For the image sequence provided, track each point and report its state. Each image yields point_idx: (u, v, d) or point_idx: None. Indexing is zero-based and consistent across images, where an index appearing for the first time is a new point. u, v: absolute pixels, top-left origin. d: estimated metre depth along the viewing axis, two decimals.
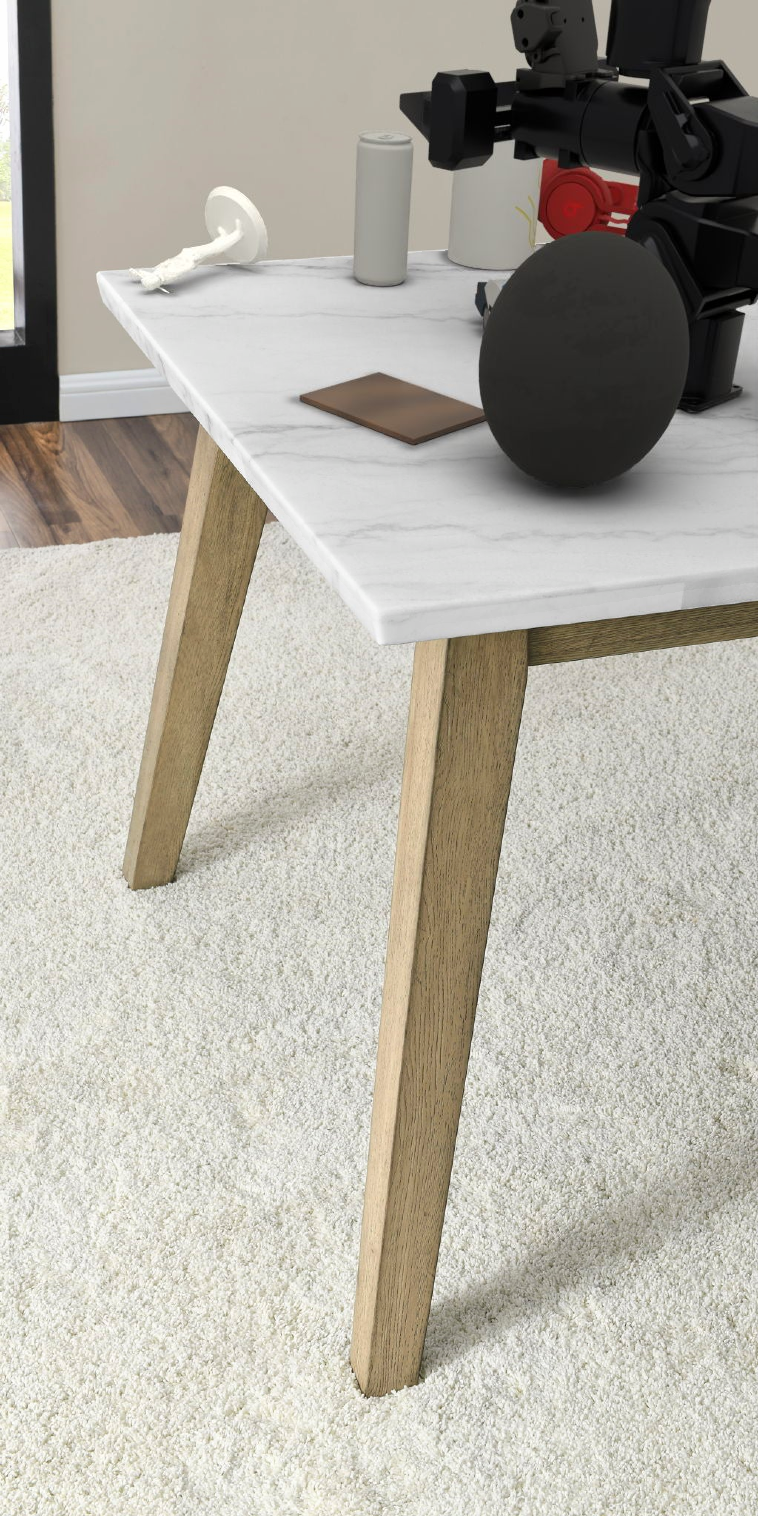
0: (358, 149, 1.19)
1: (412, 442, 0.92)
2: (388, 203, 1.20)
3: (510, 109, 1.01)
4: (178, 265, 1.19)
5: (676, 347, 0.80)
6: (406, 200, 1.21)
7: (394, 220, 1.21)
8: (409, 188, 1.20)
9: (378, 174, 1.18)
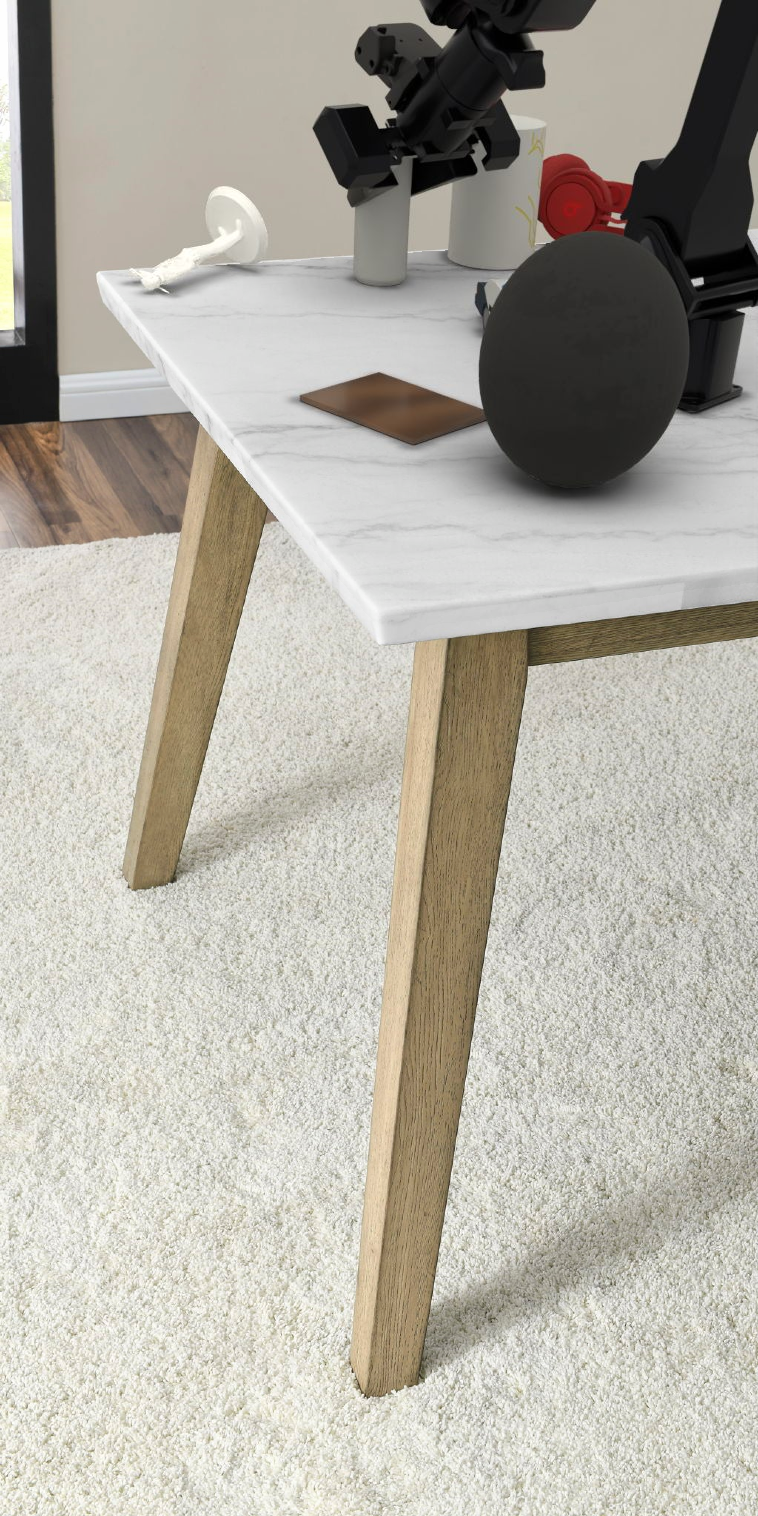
0: None
1: (412, 442, 0.92)
2: (388, 203, 1.20)
3: (396, 127, 1.13)
4: (178, 265, 1.19)
5: (676, 347, 0.80)
6: (406, 200, 1.21)
7: (394, 220, 1.21)
8: (409, 188, 1.20)
9: None
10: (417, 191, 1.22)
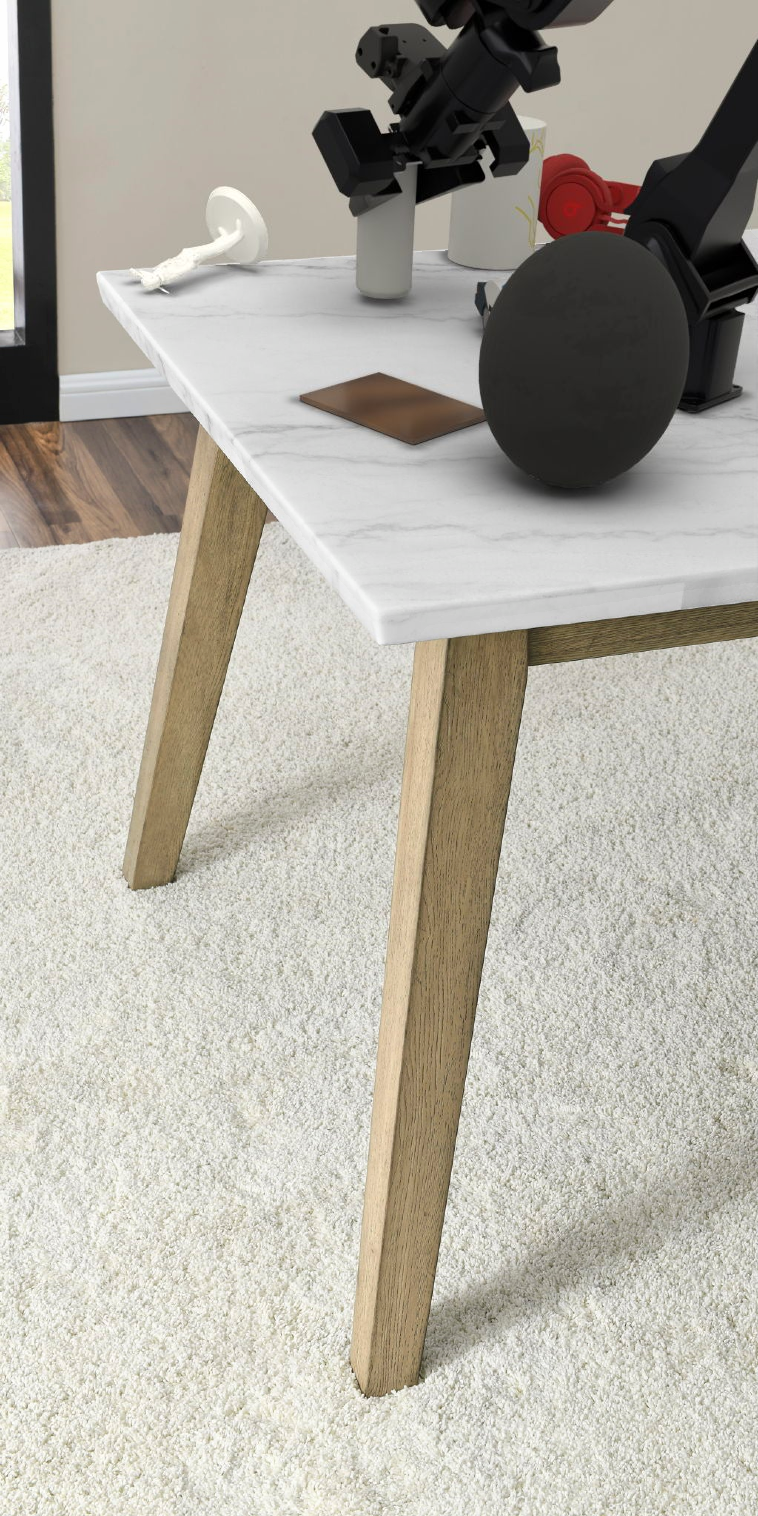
0: None
1: (412, 442, 0.92)
2: (391, 212, 1.14)
3: (399, 132, 1.08)
4: (178, 265, 1.19)
5: (676, 347, 0.80)
6: (411, 208, 1.15)
7: (398, 229, 1.15)
8: (413, 196, 1.15)
9: None
10: (422, 199, 1.16)
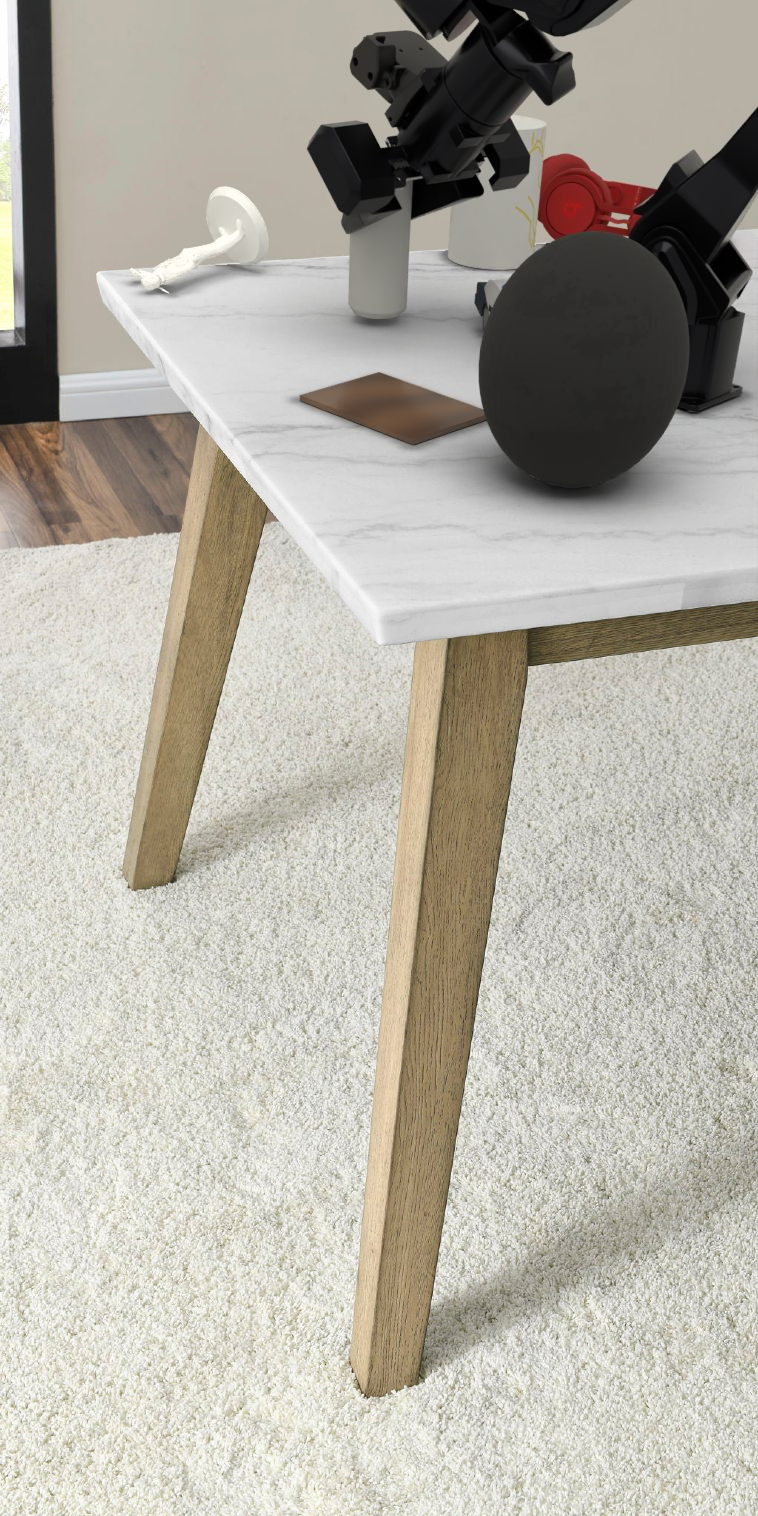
0: None
1: (412, 442, 0.92)
2: (387, 229, 1.09)
3: (398, 146, 1.03)
4: (178, 265, 1.19)
5: (676, 347, 0.80)
6: (407, 225, 1.10)
7: (394, 247, 1.10)
8: (409, 212, 1.10)
9: None
10: (417, 214, 1.11)
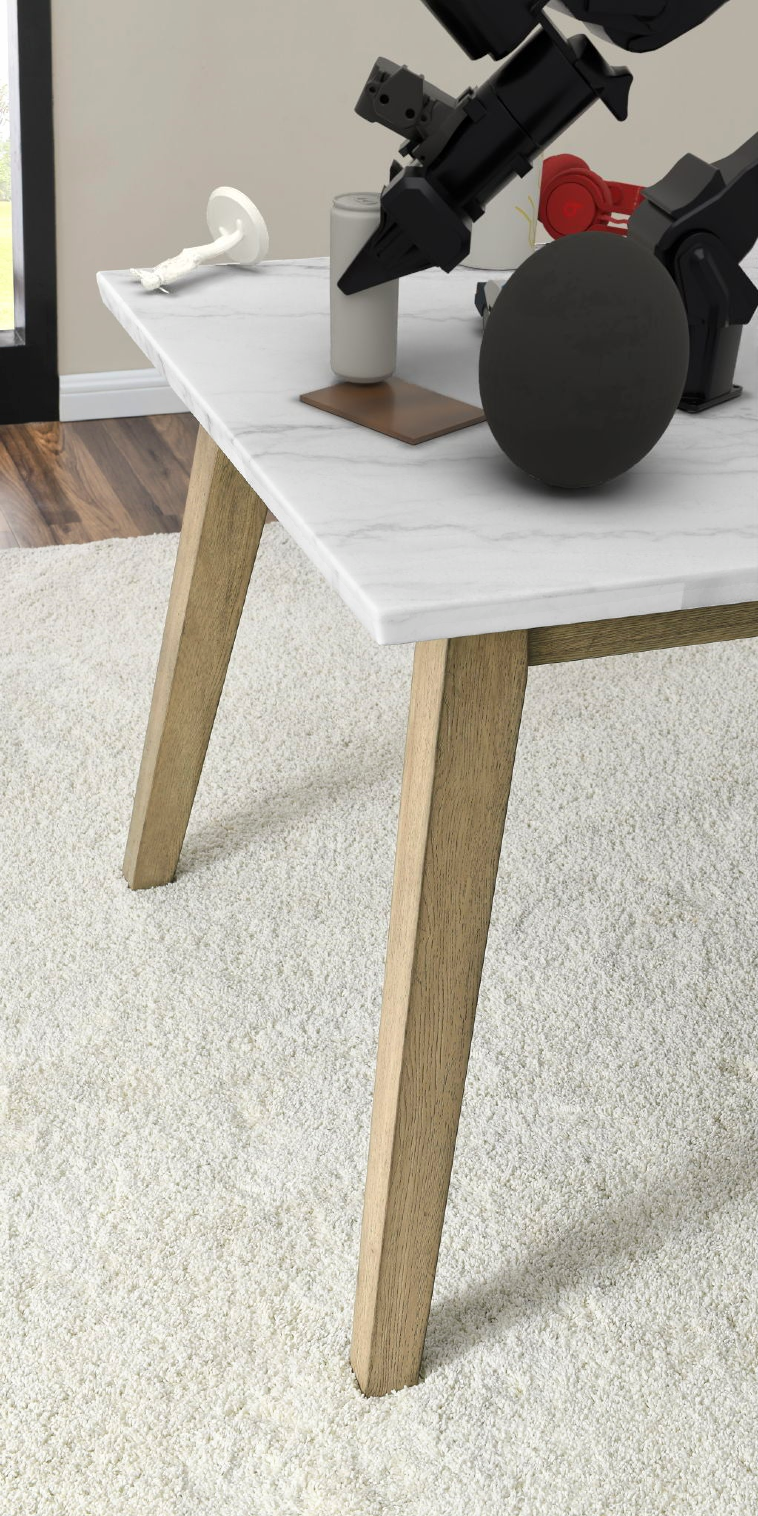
0: (350, 222, 0.94)
1: (412, 442, 0.92)
2: (393, 280, 0.96)
3: None
4: (178, 265, 1.19)
5: (676, 347, 0.80)
6: None
7: (396, 298, 0.98)
8: None
9: None
10: None
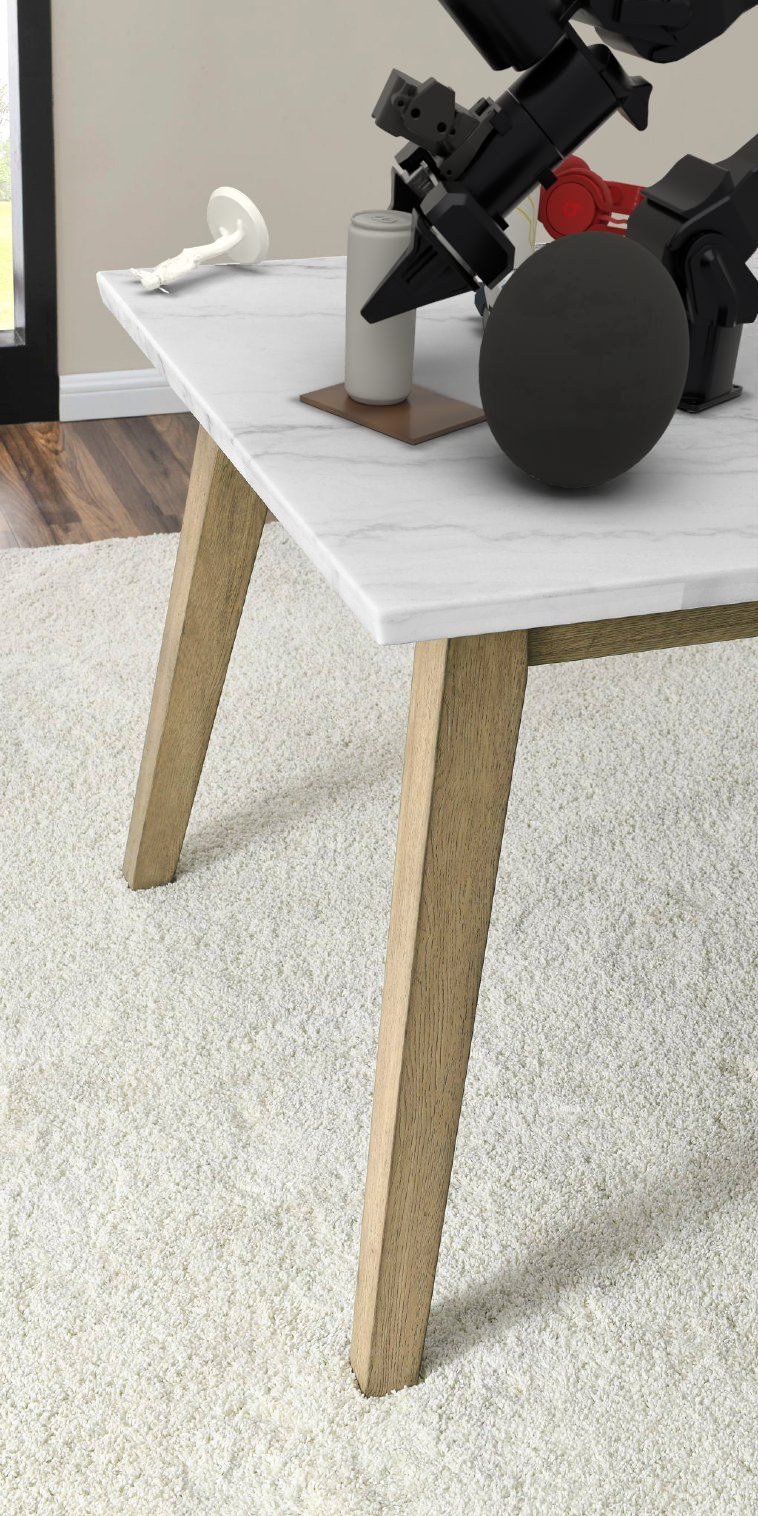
0: (375, 242, 0.91)
1: (412, 442, 0.92)
2: None
3: None
4: (178, 265, 1.19)
5: (676, 347, 0.80)
6: None
7: (415, 318, 0.95)
8: None
9: None
10: None
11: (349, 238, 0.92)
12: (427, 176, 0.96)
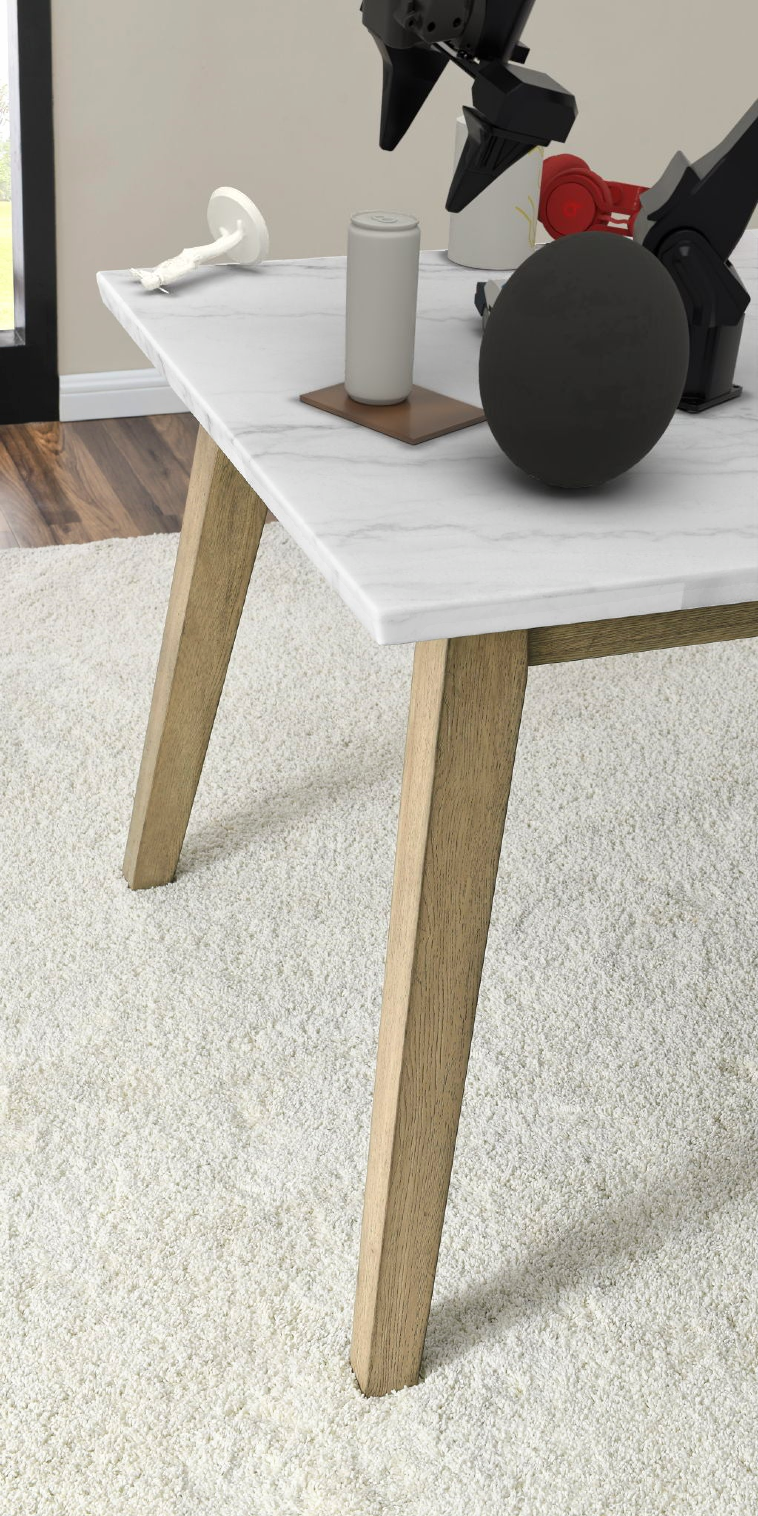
0: (375, 242, 0.91)
1: (412, 442, 0.92)
2: (414, 299, 0.94)
3: (490, 60, 0.90)
4: (178, 265, 1.19)
5: (676, 347, 0.80)
6: None
7: (415, 318, 0.95)
8: None
9: (408, 267, 0.92)
10: (415, 114, 0.99)
11: (349, 238, 0.92)
12: None
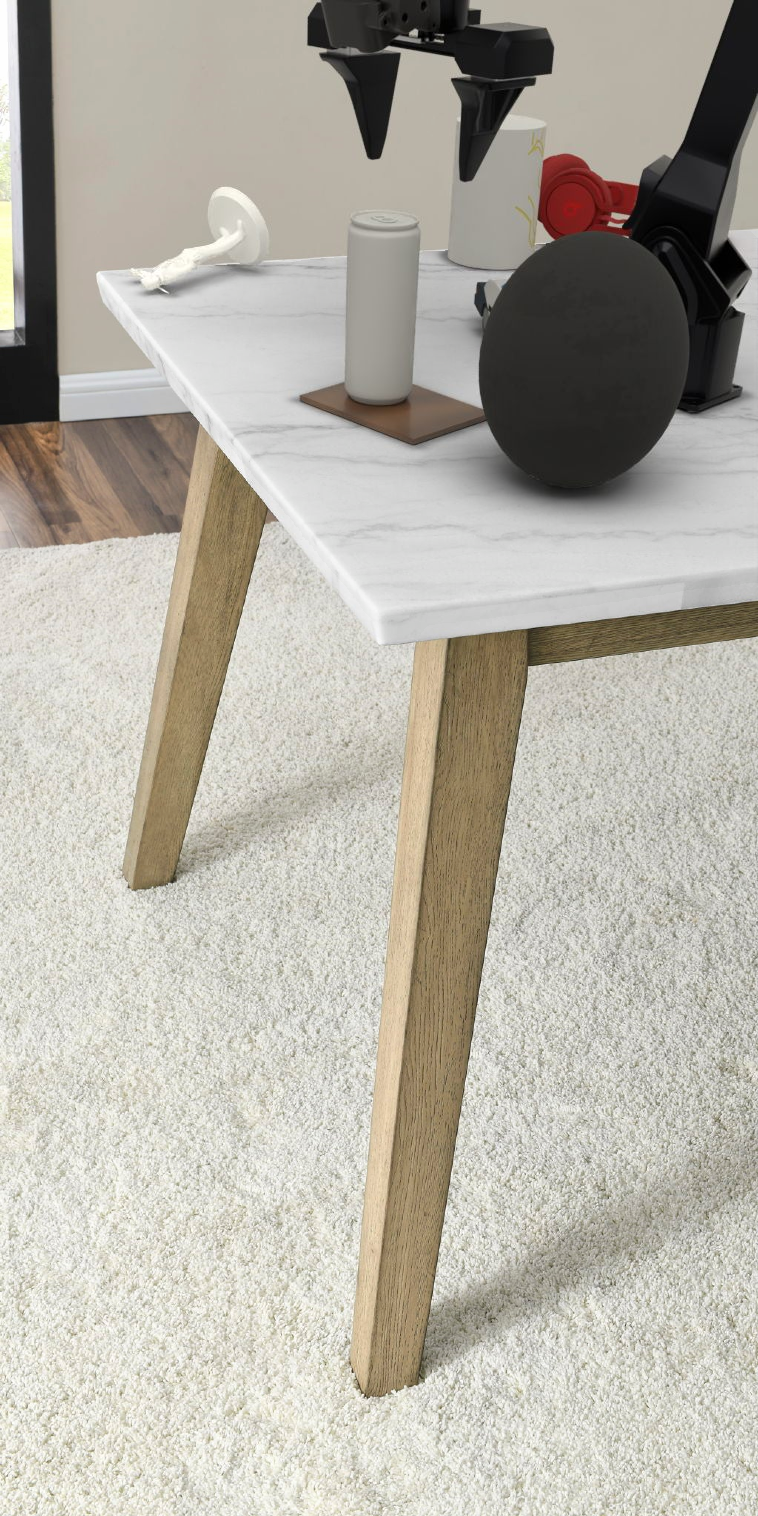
0: (375, 242, 0.91)
1: (412, 442, 0.92)
2: (414, 299, 0.94)
3: (454, 31, 0.95)
4: (178, 265, 1.19)
5: (676, 347, 0.80)
6: None
7: (415, 318, 0.95)
8: None
9: (408, 267, 0.92)
10: (389, 117, 1.04)
11: (349, 238, 0.92)
12: None
